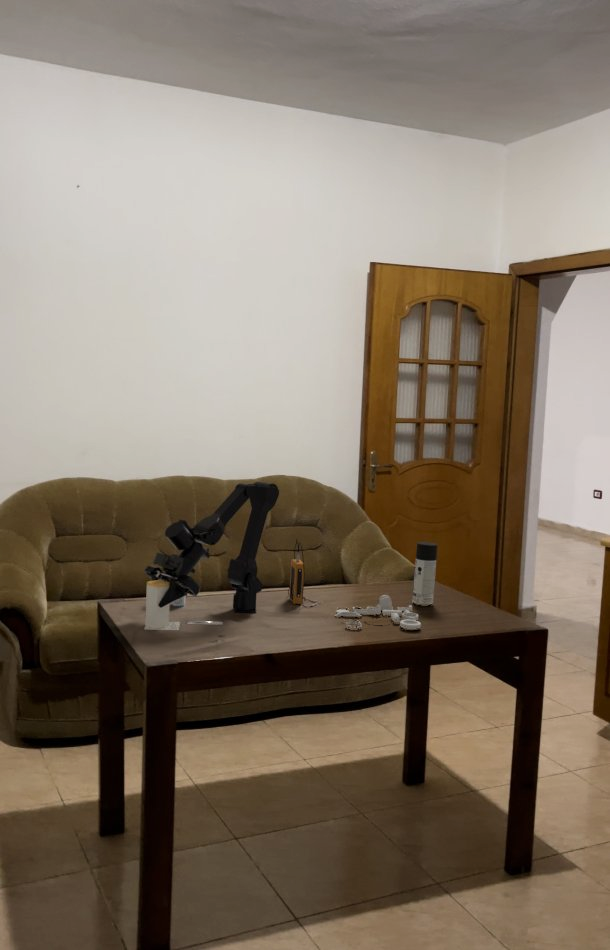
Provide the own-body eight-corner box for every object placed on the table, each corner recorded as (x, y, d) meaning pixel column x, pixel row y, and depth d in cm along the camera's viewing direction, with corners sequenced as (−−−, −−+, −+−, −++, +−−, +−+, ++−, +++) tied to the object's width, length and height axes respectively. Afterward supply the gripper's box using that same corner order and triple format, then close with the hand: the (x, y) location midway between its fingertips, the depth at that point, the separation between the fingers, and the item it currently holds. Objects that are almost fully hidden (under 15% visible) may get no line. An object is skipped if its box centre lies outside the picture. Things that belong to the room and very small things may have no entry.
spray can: (414, 600, 289) (418, 540, 287) (435, 603, 287) (439, 542, 284) (410, 604, 283) (414, 543, 280) (430, 607, 280) (435, 546, 278)
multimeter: (327, 607, 273) (331, 544, 271) (295, 608, 271) (299, 544, 269) (316, 596, 288) (320, 535, 285) (286, 596, 285) (289, 535, 283)
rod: (222, 626, 247) (222, 620, 246) (222, 628, 245) (222, 622, 245) (186, 625, 245) (186, 620, 245) (186, 627, 244) (186, 621, 244)
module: (158, 622, 244) (160, 579, 243) (168, 625, 241) (170, 582, 240) (145, 624, 241) (146, 581, 239) (155, 628, 238) (157, 585, 236)
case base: (183, 624, 247) (183, 620, 246) (182, 634, 237) (182, 631, 237) (143, 623, 245) (143, 619, 245) (140, 633, 235) (140, 630, 235)
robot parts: (338, 633, 250) (339, 614, 249) (331, 609, 275) (332, 592, 274) (425, 635, 251) (426, 617, 251) (410, 612, 276) (411, 595, 275)
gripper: (150, 536, 247) (116, 580, 241) (193, 547, 235) (158, 594, 228) (171, 561, 254) (139, 604, 247) (214, 573, 241) (181, 618, 235)
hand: (153, 604), depth 239 cm, fingers open, 5 cm apart
